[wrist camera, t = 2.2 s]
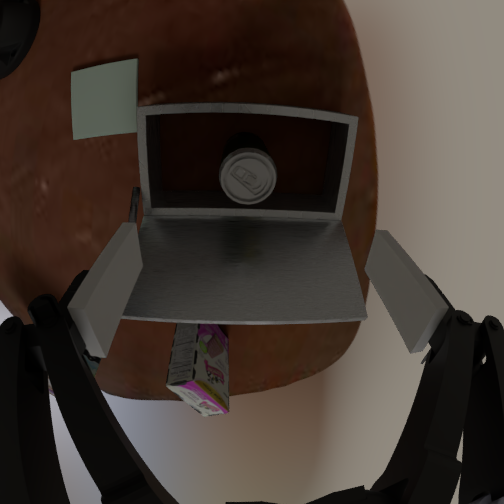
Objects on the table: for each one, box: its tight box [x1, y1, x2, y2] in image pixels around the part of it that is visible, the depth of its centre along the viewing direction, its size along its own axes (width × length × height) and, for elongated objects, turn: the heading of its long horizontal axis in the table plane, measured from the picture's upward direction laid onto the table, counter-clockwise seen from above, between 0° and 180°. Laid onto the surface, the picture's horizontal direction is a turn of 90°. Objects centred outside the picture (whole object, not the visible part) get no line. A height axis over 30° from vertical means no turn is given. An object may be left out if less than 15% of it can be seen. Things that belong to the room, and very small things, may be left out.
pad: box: [71, 59, 139, 140], centre depth 29 cm, size 10×10×1 cm
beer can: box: [219, 132, 277, 205], centre depth 29 cm, size 5×5×12 cm
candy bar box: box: [166, 323, 229, 417], centre depth 44 cm, size 11×5×16 cm, turn 23°
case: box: [121, 102, 367, 324], centre depth 28 cm, size 18×25×18 cm
